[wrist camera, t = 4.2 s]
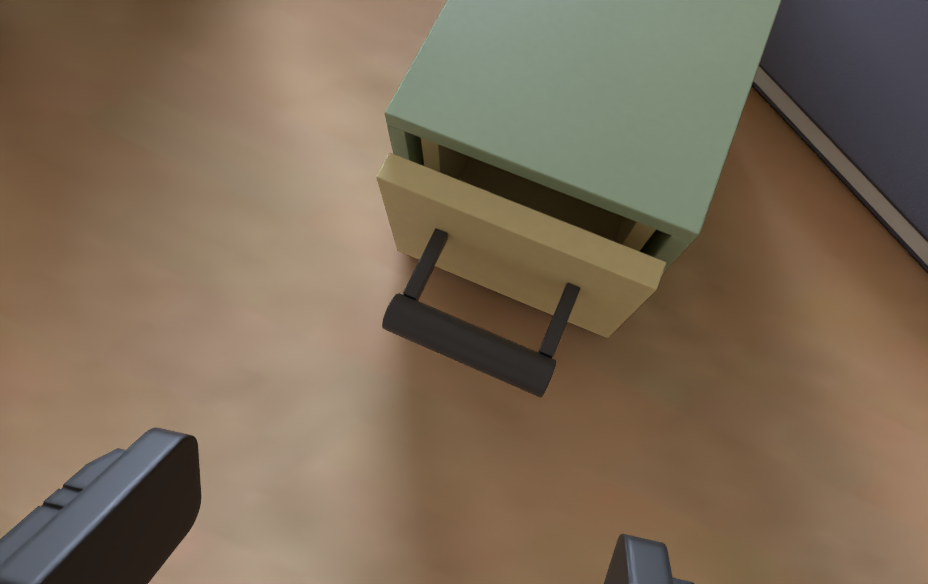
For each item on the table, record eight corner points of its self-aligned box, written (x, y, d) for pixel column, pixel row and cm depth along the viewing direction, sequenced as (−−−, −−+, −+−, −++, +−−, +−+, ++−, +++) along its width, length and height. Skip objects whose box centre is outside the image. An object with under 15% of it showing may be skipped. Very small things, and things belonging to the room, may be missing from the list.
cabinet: (629, 308, 31) (699, 235, 21) (406, 217, 32) (384, 112, 23) (712, 86, 35) (801, -56, 26) (510, 15, 36) (526, -143, 27)
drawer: (572, 430, 28) (612, 412, 20) (354, 334, 29) (317, 284, 22) (690, 119, 33) (756, 13, 26) (499, 49, 34) (509, -70, 27)
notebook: (1138, 199, 32) (858, -57, 38) (1171, 185, 31) (874, -79, 36) (974, 323, 30) (702, 34, 36) (1001, 315, 29) (713, 14, 34)
